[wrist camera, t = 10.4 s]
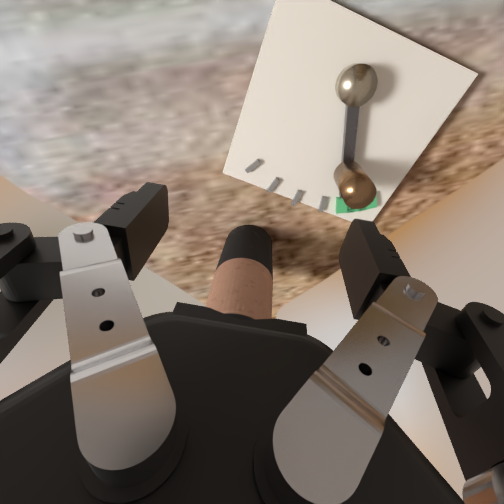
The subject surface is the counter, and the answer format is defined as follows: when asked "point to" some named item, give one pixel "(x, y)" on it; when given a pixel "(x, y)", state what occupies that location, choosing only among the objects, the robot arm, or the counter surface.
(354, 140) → the dial lever
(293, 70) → the square base plate
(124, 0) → the counter surface
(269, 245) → the travel mug
